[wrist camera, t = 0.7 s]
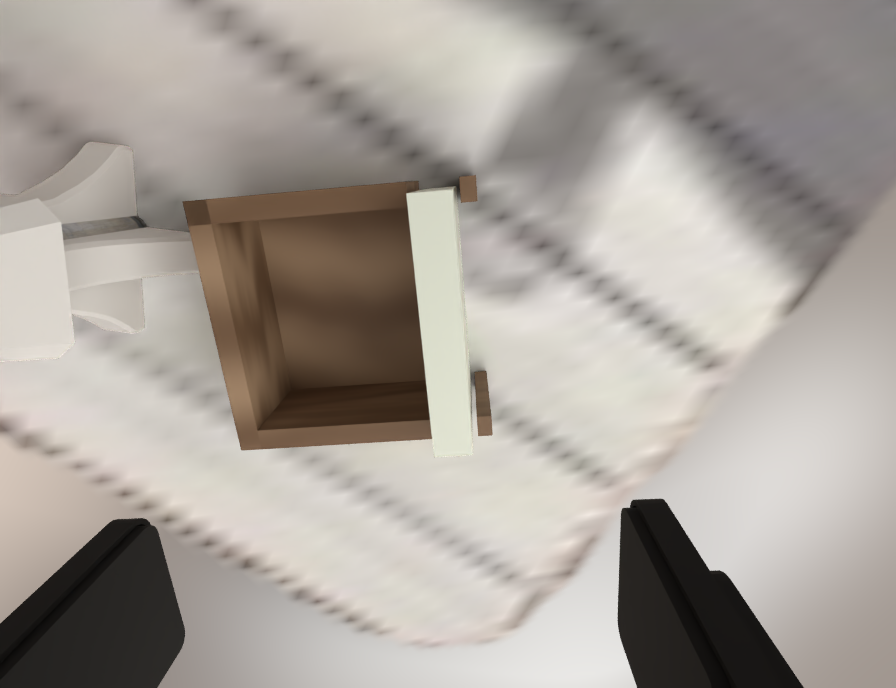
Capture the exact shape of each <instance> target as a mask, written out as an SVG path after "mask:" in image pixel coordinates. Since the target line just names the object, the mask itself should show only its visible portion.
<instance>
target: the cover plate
mask: <svg viewBox="0 0 896 688" xmlns="http://www.w3.org/2000/svg"><path fill="white" fill-rule="evenodd" d="M406 196H407V206H408V215H409V225H410V234H411V244H412V253H413V263H414V272H415V282H416V291H417V301H418V310H419V320H420V329H421V339H422V348H423V357H424V367H425V376H426V386H427V395H428V405H429V414H430V424H431V433H432V443H433V452H434V457H450V456H467V455H473V435H472V399H471V374H470V361H469V348H468V335H467V322H466V309H465V296H464V282H463V269H462V256H461V243H460V230H459V217H458V204H457V190H456V186H453V187H442V188H431V189H422V190H418V191H414V192H410V193H406Z"/></svg>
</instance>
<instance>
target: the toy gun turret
mask: <svg viewBox="0 0 896 688" xmlns="http://www.w3.org/2000/svg"><path fill="white" fill-rule="evenodd" d="M194 273H199V269H198V265H197V261H196V256H195V252H194V248H193V244H192V240H191V235H190V232H183V231H175V230H167V229H159V228H152V227H147V226H146V224H145V223H144V221H143V220H142V219H140V218H139V217H138V216H137V204H136V189H135V175H134V160H133V150H132V149H131V148H130V147H129V146H125V145H117V144H109V143H101V142H92V141H91V142H88V143H86V144H85V145H84V146H83V148H82V149H81V150H80V151H79V153H78V154H77V155H76V156H75V157H74V158H73V159H72V160H71V161H70V162H69V163H68V164H67V165H66V166H65V167H64V168H62V169H61V170H60V171H58V172H57V173H55V174H54V175H52V176H51V177H49V178H48V179H46V180H45V181H43V182H41V183H39V184H37V185H35V186H33V187H31V188H29V189H27V190H25V191H23V192H21V193H20V194H17V195H9V194H1V193H0V362H10V361H27V360H44V359H59V358H60V357H61V356H62V355H63V354H64V353H65V352H66V351H67V350H68V349H70V348H71V347H72V346H73V345H74V344H75V339H74V330H73V321H72V315H73V316H77V317H80V318H82V319H84V320H87V321H89V322H91V323H93V324H95V325H97V326H98V327H100V328H101V329H103V330H109V331H117V332H125V333H137V332H140V331H142V330H143V329H144V328H145V320H144V306H143V291H142V278H148V277H157V276H167V275H179V274H194Z"/></svg>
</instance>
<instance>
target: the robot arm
mask: <svg viewBox="0 0 896 688" xmlns="http://www.w3.org/2000/svg"><path fill="white" fill-rule="evenodd" d="M618 594H619V595H618V627H619V633H620V638H621V641H622V644H623V647H624V650H625V653H626V656H627V659H628V662H629V665H630V668H631V670H632V674H633V676H634V679H635V682H636V685H637V688H803V686H802V685H801V683H800V682H799V680H798V679H797V677H796V676H795V674H794V673H793V671H792V670H791V668H790V667H789V665H788V664H787V662H786V661H785V659H784V658H783V656H782V655H781V653H780V652H779V650H778V649H777V648H776V646H775V645H774V643H773V642H772V640H771V639H770V637H769V636H768V634H767V633H766V631H765V630H764V628H763V627H762V625H761V624H760V622H759V621H758V619H757V618H756V616H755V615H754V613H753V612H752V611H751V609H750V608H749V606H748V605H747V603H746V602H745V600H744V599H743V597H742V596H741V594H740V593H739V591H738V590H737V588H736V587H735V585H734V584H733V583H732V581H731V580H730V578H729V577H728V576H727V575H726V574H725V573H724V572H722V571H710V570H709V569H708V567H707V566H706V564H705V563H704V561H703V559H702V558H701V556H700V555H699V553H698V552H697V550H696V548H695V547H694V545H693V544H692V542H691V541H690V539H689V538H688V536H687V535H686V533H685V531H684V530H683V528H682V527H681V525H680V523H679V522H678V520H677V519H676V517H675V515H674V514H673V512H672V511H671V510H670V508H669V506H668V504H667V503H666V502H665V500H663V499H643V500H633V501H632V502H631V505H630V508H623V509H622V511H621V532H620V565H619V593H618ZM184 637H185V628H184V625H183V621H182V617H181V614H180V610H179V607H178V603H177V599H176V596H175V592H174V588H173V585H172V581H171V577H170V574H169V570H168V566H167V563H166V559H165V555H164V552H163V548H162V545H161V541H160V537H159V533H158V531H157V529H156V527H155V526H152V525H151V524H150V522H149V521H148V520H147V519H143V518H138V519H117V520H113V521H111V522H110V523H109V524H107V525H106V526H105V527H104V528H103V529H102V530H101V531H100V532H99V533H98V534H97V535H96V536H94V537H93V538H92V539H91V540H90V541H89V542H88V543H87V544H86V545H85V546H84V547H83V548H82V549H80V550H79V551H78V552H77V553H76V554H75V555H74V556H73V557H72V558H71V559H70V560H69V561H67V562H66V563H65V564H64V565H63V566H62V567H61V568H60V569H59V570H58V571H57V572H56V573H54V574H53V575H52V576H51V577H50V578H49V579H48V580H47V581H46V582H45V583H44V584H43V585H42V586H41V587H39V588H38V589H37V590H36V591H35V592H34V593H33V594H32V595H31V596H30V597H29V598H28V599H26V600H25V601H24V602H23V603H22V604H21V605H20V606H19V607H18V608H17V609H16V610H15V611H13V612H12V613H11V614H10V615H9V616H8V617H7V618H6V619H5V620H4V621H3V622H2V623H0V688H157V687H158V685H159V684H160V682H161V681H162V679H163V678H164V676H165V674H166V673H167V671H168V669H169V668H170V666H171V665H172V663H173V661H174V660H175V658H176V657H177V655H178V653H179V652H180V650H181V648H182V646H183V643H184Z"/></svg>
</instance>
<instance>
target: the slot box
mask: <svg viewBox="0 0 896 688" xmlns="http://www.w3.org/2000/svg"><path fill="white" fill-rule="evenodd" d="M459 181H460V195H461V203H462V202H474V201H477V187H476V175H475V176H463V177H459ZM418 190H419V183H418V181H409V182H396V183H385V184H374V185H363V186H351V187H340V188H329V189H318V190H307V191H295V192H284V193H273V194H262V195H251V196H239V197H228V198H217V199H206V200H195V201H183V206H184V210H185V214H186V218H187V223H188V227H189V231H190V235H191V240H192V244H193V248H194V252H195V256H196V261H197V265H198V269H199V273H200V278H201V282H202V286H203V290H204V294H205V299H206V303H207V307H208V311H209V316H210V320H211V324H212V328H213V333H214V337H215V341H216V345H217V349H218V354H219V358H220V362H221V366H222V371H223V375H224V379H225V383H226V387H227V392H228V396H229V400H230V404H231V409H232V413H233V417H234V421H235V425H236V430H237V434H238V438H239V442H240V447H241V450H256V449H273V448H289V447H306V446H322V445H339V444H356V443H372V442H389V441H405V440H422V439H432V433H431V424H430V414H429V405H428V395H427V386H426V376H425V367H424V357H423V348H422V339H421V329H420V320H419V310H418V301H417V291H416V282H415V272H414V263H413V253H412V244H411V234H410V225H409V215H408V206H407V196H406V193H410V192H414V191H418ZM475 389H476V408H477V425H478V436H488V435H492V420H491V409H490V400H489V391H488V382H487V373H486V371H478V372H475Z"/></svg>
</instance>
